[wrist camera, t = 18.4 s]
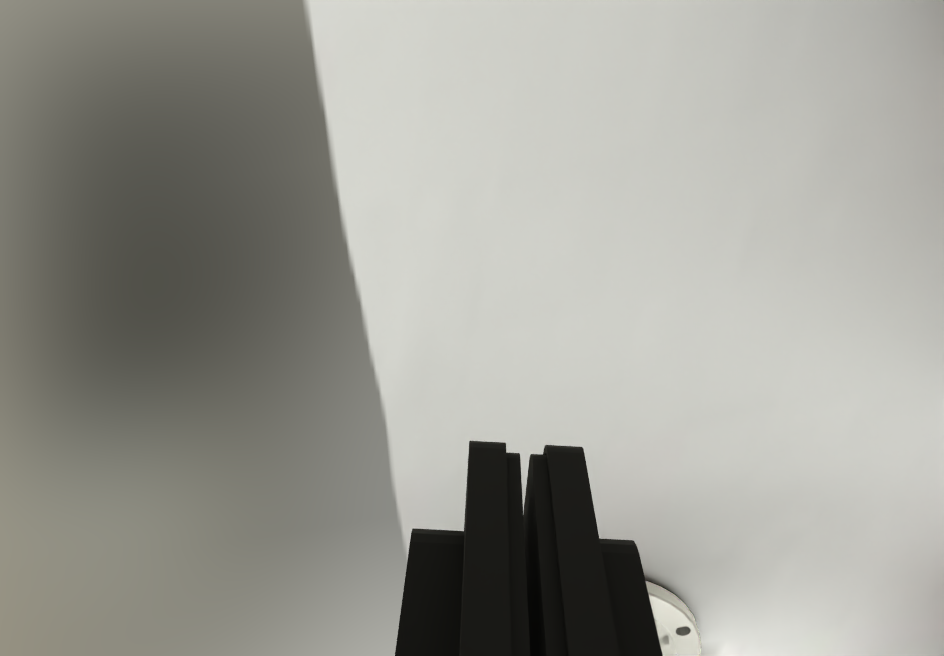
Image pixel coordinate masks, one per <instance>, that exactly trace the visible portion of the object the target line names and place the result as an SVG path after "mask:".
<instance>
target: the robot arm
mask: <svg viewBox="0 0 944 656" xmlns="http://www.w3.org/2000/svg"><path fill="white" fill-rule="evenodd" d="M700 652H701V641H700V634H699V631H698V628H697V625H696V622H695V619H694V616H693V615H692V613H691V612H690V610H689V609H688V607H687V605H685V604H684V603H683V602H682V601H681V600H680V599H679V598H678V597H677V596H676V595H674V594H673V593H671V592H669V591H668V590H666V589H664V588H662V587H661V586H658V585H656V584H653V583H650V582H648V581H645V577H644V573H643V569H642V564H641V560H640V556H639V552H638V549H637V546H636V544H635V542H634V541H632V540H614V539H599V536H598V530H597V524H596V518H595V513H594V507H593V501H592V495H591V489H590V484H589V478H588V472H587V466H586V461H585V455H584V450H583V448H582V447H572V446H554V445H545V448H544V452H543V455H538V454H531V455H530V460H529V469H528V478H527V487H526V496H525V505H524V514H523V504H522V485H521V466H520V454H519V453H506V443H499V442H481V441H470V442H469V457H468V474H467V491H466V508H465V524H464V531H448V530H430V529H412V533H411V540H410V547H409V554H408V562H407V570H406V577H405V585H404V592H403V600H402V607H401V615H400V622H399V630H398V637H397V645H396V652H395V656H700Z"/></svg>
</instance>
